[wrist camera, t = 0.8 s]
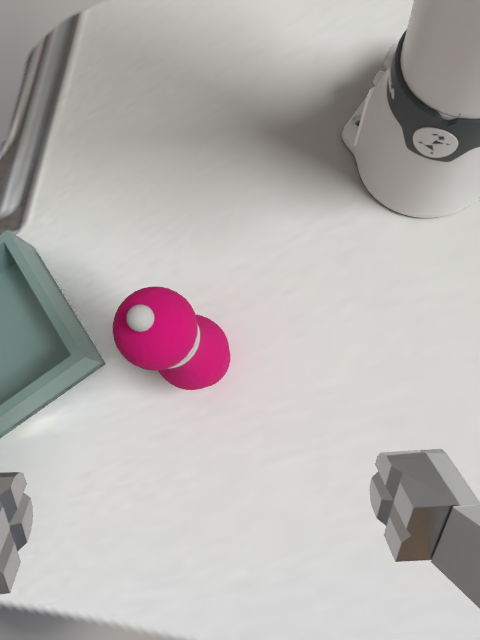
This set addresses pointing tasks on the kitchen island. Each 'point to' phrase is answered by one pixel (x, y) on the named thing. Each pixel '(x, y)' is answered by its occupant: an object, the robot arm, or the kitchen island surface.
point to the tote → (36, 336)
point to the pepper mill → (171, 338)
